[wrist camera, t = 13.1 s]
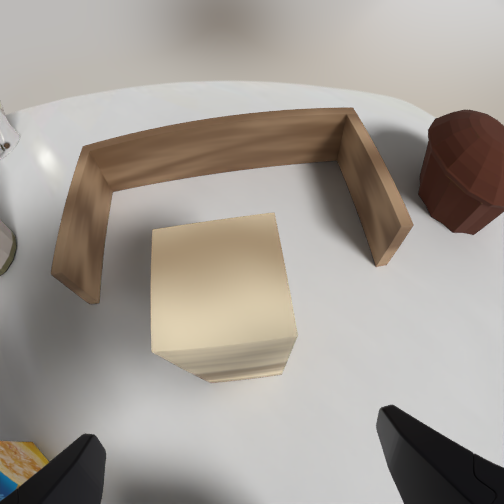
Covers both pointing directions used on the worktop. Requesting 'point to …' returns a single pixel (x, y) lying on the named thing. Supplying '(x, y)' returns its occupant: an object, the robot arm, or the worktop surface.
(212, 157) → the u-shaped wooden wall
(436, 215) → the muffin
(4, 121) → the beer glass
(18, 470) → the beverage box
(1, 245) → the bottle
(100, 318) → the worktop surface
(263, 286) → the ash block
